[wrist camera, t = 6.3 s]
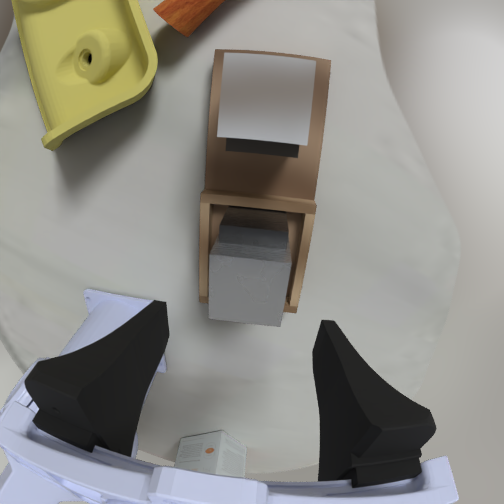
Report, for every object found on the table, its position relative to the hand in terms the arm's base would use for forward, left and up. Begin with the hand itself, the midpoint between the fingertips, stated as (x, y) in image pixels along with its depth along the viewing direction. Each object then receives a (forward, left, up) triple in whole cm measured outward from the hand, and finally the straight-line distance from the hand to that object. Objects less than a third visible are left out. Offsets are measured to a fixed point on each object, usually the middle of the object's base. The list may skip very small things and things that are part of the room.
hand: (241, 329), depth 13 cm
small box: (-32, +3, -10) cm, 34 cm away
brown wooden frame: (+5, 0, -10) cm, 11 cm away
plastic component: (+18, +15, -10) cm, 25 cm away
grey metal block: (0, 0, -8) cm, 8 cm away
